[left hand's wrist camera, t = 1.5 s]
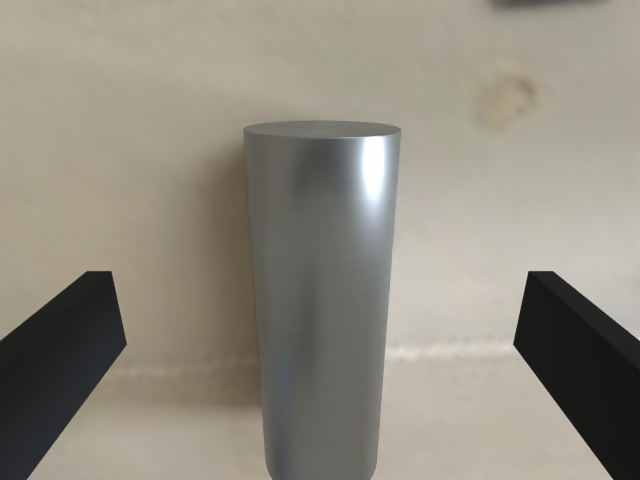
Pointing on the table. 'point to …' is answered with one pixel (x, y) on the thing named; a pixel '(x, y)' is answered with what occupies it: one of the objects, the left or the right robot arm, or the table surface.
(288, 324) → the rod
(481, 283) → the table surface
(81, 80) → the table surface
